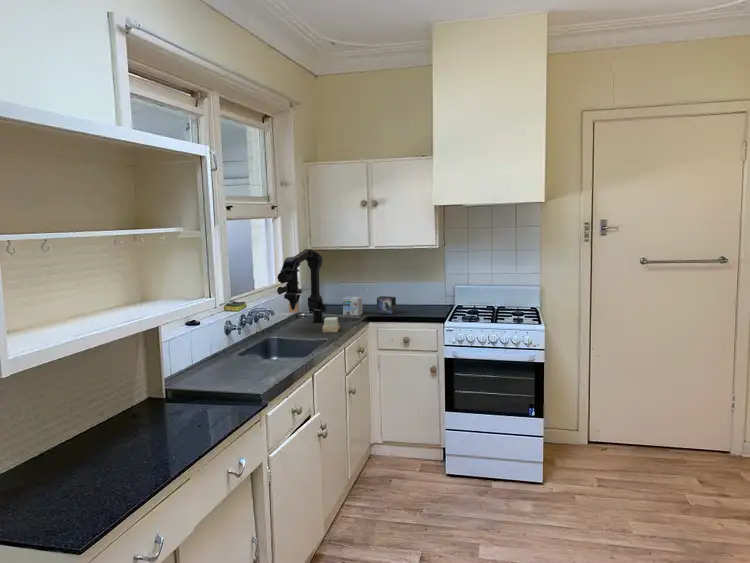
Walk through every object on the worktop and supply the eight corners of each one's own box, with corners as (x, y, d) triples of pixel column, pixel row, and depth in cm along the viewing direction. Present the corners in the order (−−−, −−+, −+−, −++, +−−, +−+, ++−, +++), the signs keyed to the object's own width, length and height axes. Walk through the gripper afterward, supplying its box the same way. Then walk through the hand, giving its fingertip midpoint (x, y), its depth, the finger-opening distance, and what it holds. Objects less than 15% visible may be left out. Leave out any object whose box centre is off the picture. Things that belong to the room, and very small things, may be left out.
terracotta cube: (290, 311, 309) (290, 303, 309) (298, 311, 309) (298, 303, 309) (289, 312, 305) (288, 304, 304) (297, 312, 305) (296, 304, 304)
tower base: (325, 329, 311) (324, 323, 310) (339, 329, 310) (339, 323, 310) (322, 332, 303) (322, 326, 302) (337, 332, 302) (337, 326, 302)
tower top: (326, 323, 310) (325, 317, 309) (337, 323, 309) (337, 317, 309) (324, 326, 303) (324, 319, 303) (336, 325, 303) (336, 319, 302)
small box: (376, 314, 349) (376, 297, 348) (381, 312, 355) (380, 295, 353) (391, 315, 344) (391, 298, 343) (396, 313, 350) (396, 296, 348)
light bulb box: (342, 315, 349) (342, 298, 348) (347, 313, 356) (346, 296, 354) (358, 315, 345) (358, 298, 344) (362, 313, 352) (362, 296, 350)
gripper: (281, 279, 314) (282, 306, 317) (273, 283, 296) (275, 312, 298) (301, 278, 314) (302, 306, 316) (294, 283, 295) (296, 312, 297)
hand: (293, 309), depth 307 cm, fingers closed on terracotta cube, 4 cm apart
